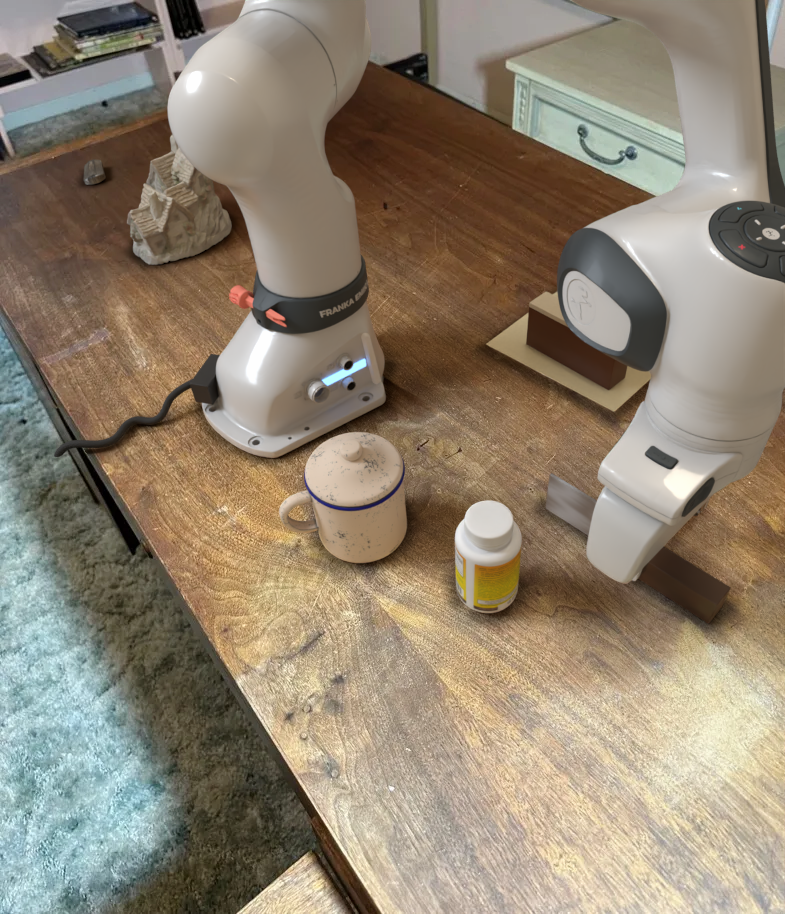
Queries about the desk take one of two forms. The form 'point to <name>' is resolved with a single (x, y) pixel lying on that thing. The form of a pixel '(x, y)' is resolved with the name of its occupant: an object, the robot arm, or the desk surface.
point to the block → (93, 172)
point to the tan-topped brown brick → (568, 344)
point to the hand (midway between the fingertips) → (662, 539)
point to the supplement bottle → (487, 557)
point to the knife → (662, 570)
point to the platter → (565, 368)
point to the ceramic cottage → (176, 211)
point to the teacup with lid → (353, 497)
